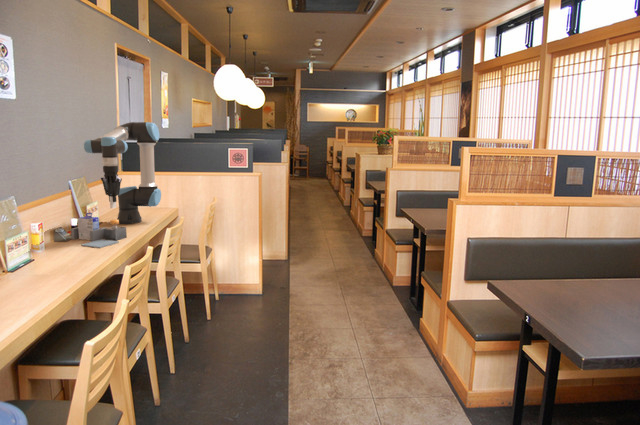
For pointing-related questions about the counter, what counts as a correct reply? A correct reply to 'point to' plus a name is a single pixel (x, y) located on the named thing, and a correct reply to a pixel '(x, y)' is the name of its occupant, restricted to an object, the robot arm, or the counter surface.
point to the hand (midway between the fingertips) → (113, 207)
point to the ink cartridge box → (87, 226)
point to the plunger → (114, 223)
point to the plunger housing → (115, 233)
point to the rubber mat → (100, 243)
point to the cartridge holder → (94, 234)
